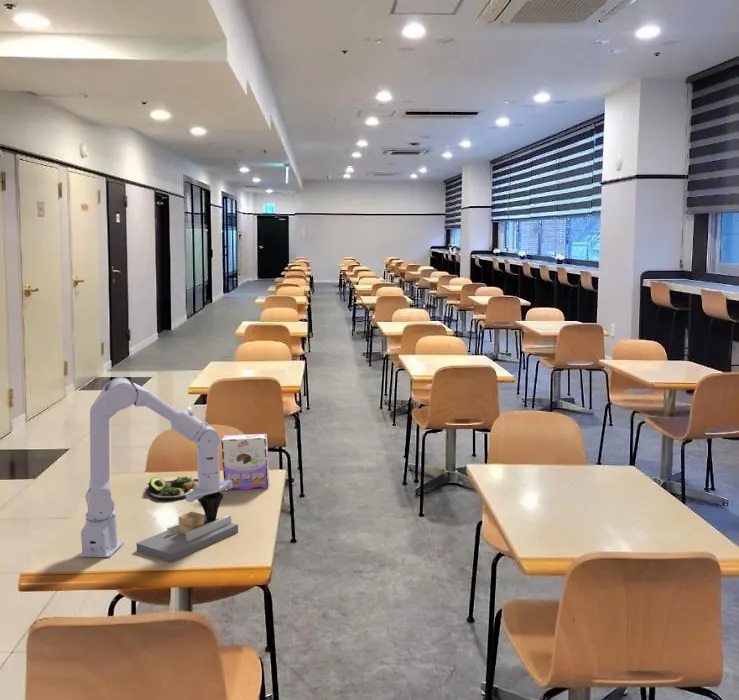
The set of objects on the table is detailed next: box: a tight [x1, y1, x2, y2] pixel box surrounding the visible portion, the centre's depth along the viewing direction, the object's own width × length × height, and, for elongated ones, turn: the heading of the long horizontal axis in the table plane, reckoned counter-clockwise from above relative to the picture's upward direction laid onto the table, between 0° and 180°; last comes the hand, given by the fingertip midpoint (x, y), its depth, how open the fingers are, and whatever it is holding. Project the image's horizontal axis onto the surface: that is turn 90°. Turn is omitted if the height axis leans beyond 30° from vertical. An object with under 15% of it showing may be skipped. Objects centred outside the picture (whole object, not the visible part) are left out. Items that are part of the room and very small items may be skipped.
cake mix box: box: [220, 433, 270, 491], centre depth 249 cm, size 14×6×16 cm, turn 92°
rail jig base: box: [135, 511, 239, 563], centre depth 207 cm, size 23×13×4 cm, turn 145°
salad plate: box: [144, 475, 198, 502], centre depth 248 cm, size 19×18×5 cm
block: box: [178, 511, 204, 535], centre depth 207 cm, size 4×4×4 cm
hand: (211, 520), depth 213 cm, fingers closed
